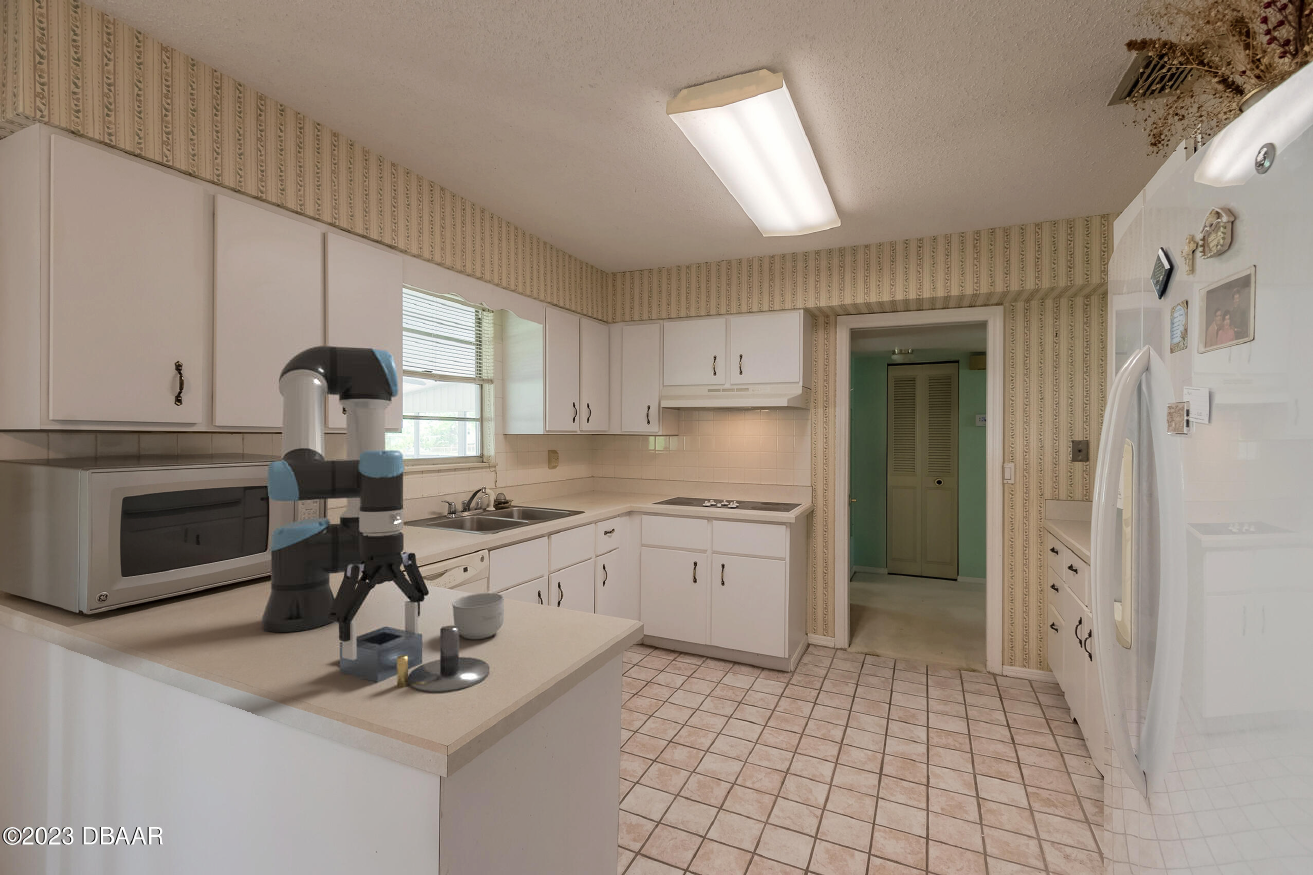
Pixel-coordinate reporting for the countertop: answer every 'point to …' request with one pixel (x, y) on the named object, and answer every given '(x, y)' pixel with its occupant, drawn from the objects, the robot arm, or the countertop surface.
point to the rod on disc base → (448, 667)
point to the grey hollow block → (382, 653)
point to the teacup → (479, 614)
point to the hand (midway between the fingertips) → (382, 646)
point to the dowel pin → (402, 670)
